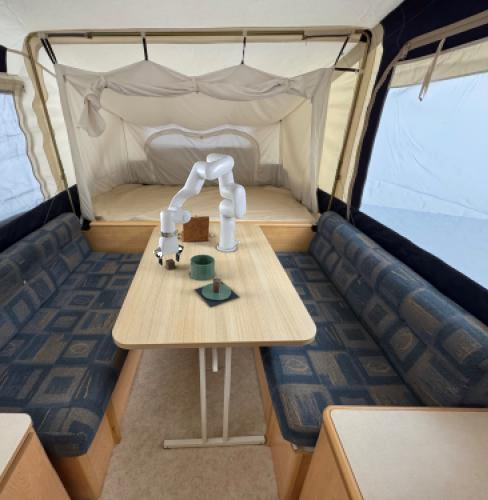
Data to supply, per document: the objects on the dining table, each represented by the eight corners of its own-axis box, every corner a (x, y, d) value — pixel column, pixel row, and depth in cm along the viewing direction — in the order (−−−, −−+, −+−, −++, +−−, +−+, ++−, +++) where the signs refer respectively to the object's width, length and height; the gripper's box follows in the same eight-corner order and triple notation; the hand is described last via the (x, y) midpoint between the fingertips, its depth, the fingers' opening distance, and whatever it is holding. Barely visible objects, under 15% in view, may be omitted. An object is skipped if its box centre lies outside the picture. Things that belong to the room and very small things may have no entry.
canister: (206, 266, 149) (207, 252, 145) (218, 276, 139) (219, 262, 135) (186, 271, 143) (186, 257, 139) (197, 282, 133) (197, 267, 130)
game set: (212, 231, 198) (212, 206, 190) (217, 243, 179) (218, 215, 170) (174, 232, 195) (173, 207, 187) (175, 244, 175) (174, 217, 167)
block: (172, 265, 150) (172, 258, 148) (175, 268, 147) (174, 261, 145) (165, 266, 148) (165, 260, 146) (168, 269, 145) (168, 263, 143)
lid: (220, 282, 133) (221, 270, 130) (236, 296, 122) (237, 283, 119) (196, 289, 127) (196, 276, 124) (211, 304, 116) (211, 291, 113)
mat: (221, 282, 134) (221, 281, 134) (238, 297, 122) (238, 296, 122) (194, 290, 127) (194, 289, 127) (210, 306, 115) (210, 306, 115)
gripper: (180, 229, 146) (180, 257, 153) (150, 233, 138) (151, 263, 145) (186, 233, 140) (186, 262, 147) (155, 238, 132) (156, 269, 139)
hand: (169, 262), depth 146 cm, fingers open, 9 cm apart
